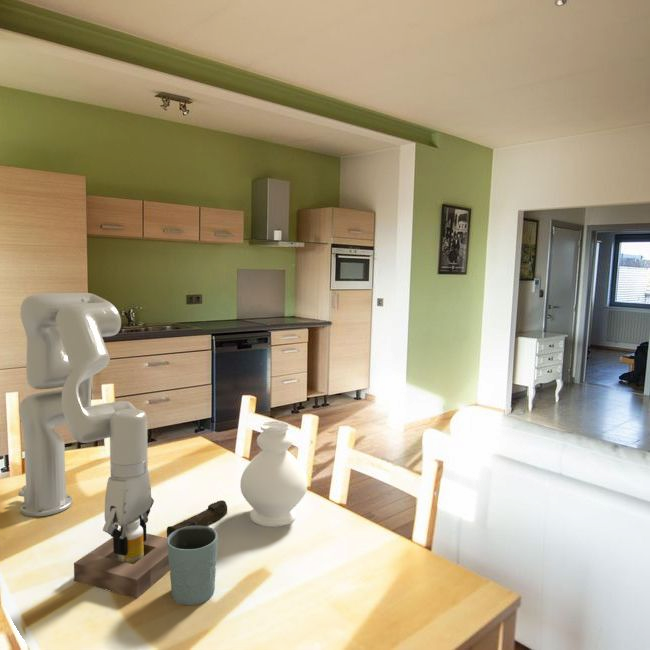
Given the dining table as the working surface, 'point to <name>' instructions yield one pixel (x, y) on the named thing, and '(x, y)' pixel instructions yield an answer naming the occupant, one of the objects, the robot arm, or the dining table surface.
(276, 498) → the decorative vase
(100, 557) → the collar block
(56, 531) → the dining table surface
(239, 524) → the dining table surface
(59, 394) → the robot arm
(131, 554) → the supplement bottle
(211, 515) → the hand tool
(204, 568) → the blue grey cup
